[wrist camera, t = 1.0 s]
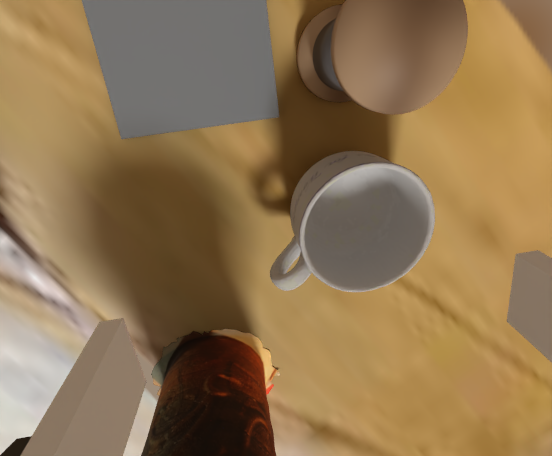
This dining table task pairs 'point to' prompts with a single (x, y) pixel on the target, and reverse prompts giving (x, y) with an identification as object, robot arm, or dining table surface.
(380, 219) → the teacup
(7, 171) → the dining table surface
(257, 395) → the vessel
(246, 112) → the pad
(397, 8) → the brown rounded upright piece
